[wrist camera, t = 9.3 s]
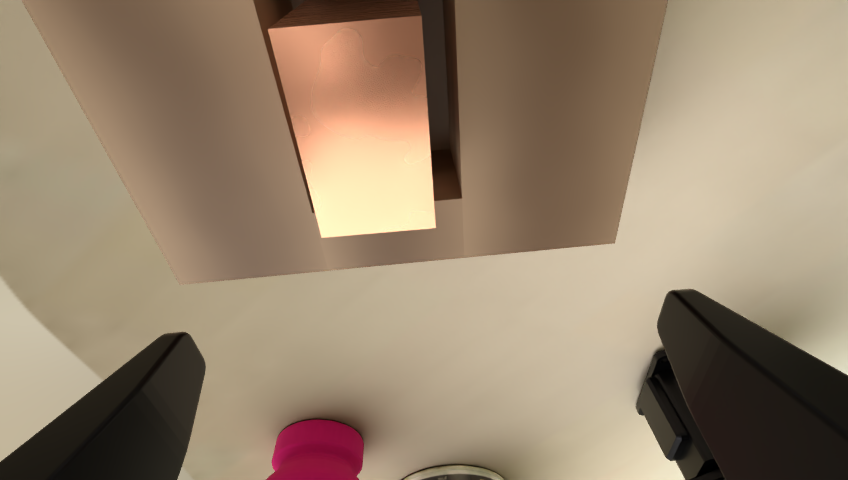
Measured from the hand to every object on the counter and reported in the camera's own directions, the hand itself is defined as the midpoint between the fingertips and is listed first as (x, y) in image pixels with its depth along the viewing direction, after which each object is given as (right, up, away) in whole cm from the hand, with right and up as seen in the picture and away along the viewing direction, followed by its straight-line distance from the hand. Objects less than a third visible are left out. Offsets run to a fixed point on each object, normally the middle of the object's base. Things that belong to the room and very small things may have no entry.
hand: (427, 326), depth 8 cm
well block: (-2, +9, +8) cm, 12 cm away
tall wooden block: (-2, +8, +7) cm, 11 cm away
